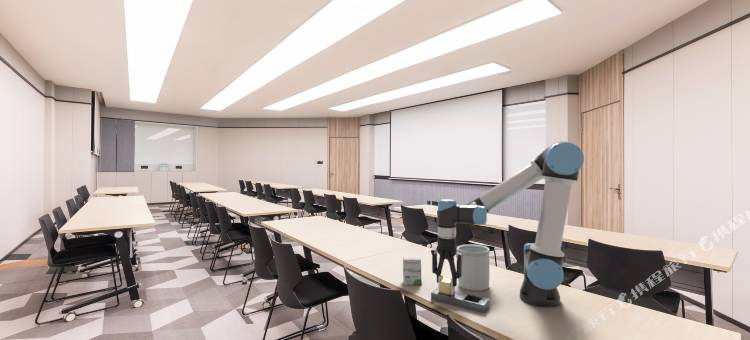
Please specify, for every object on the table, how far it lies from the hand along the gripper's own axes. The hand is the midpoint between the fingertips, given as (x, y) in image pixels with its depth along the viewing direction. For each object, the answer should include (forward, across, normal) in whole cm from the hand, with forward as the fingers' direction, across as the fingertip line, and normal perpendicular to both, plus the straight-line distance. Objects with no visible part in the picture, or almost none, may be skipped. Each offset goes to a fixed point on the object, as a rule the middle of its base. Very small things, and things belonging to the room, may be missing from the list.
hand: (446, 292), depth 137 cm
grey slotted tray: (+3, -6, 0) cm, 7 cm away
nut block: (+1, 0, 0) cm, 1 cm away
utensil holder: (+3, -4, -22) cm, 23 cm away
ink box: (+4, +21, -9) cm, 23 cm away
